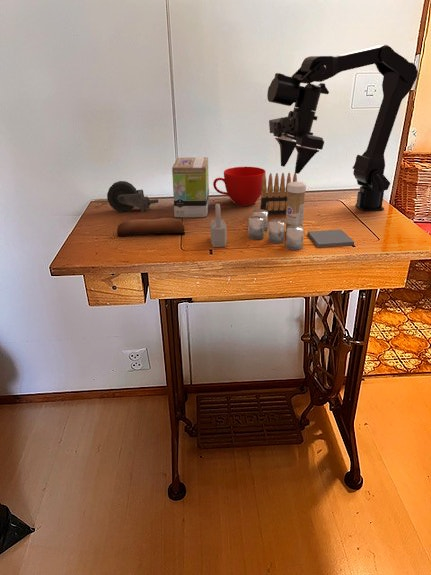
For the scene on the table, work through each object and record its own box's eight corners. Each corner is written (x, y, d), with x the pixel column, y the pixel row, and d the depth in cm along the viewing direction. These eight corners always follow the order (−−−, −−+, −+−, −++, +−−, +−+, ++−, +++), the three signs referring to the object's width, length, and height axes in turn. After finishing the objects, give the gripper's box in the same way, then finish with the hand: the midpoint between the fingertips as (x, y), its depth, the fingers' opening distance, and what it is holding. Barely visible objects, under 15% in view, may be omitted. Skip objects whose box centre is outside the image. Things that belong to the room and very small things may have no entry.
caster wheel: (110, 217, 137) (158, 210, 136) (102, 186, 132) (152, 179, 132) (113, 211, 142) (160, 205, 141) (106, 181, 137) (154, 174, 137)
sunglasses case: (185, 224, 126) (184, 208, 120) (186, 243, 122) (184, 228, 117) (121, 226, 126) (117, 210, 120) (120, 246, 122) (115, 231, 116)
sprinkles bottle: (281, 235, 116) (283, 183, 110) (291, 230, 119) (293, 180, 113) (296, 238, 114) (300, 186, 108) (306, 233, 117) (309, 182, 111)
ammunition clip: (295, 211, 133) (298, 171, 128) (296, 213, 132) (299, 172, 126) (259, 212, 133) (260, 172, 128) (260, 214, 132) (261, 174, 126)
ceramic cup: (207, 201, 145) (205, 170, 141) (254, 195, 150) (254, 165, 146) (221, 212, 134) (221, 179, 130) (272, 205, 140) (273, 173, 135)
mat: (341, 232, 117) (341, 229, 117) (353, 244, 109) (354, 241, 109) (307, 234, 116) (307, 231, 116) (318, 247, 108) (318, 244, 108)
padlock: (210, 237, 116) (209, 200, 112) (225, 237, 116) (225, 199, 112) (211, 247, 110) (209, 208, 106) (227, 247, 110) (226, 208, 106)
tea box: (208, 217, 131) (206, 166, 124) (173, 218, 131) (170, 167, 124) (209, 202, 144) (208, 155, 137) (178, 203, 144) (175, 156, 138)
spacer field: (286, 225, 123) (287, 207, 120) (304, 250, 107) (305, 230, 105) (244, 228, 122) (244, 210, 120) (255, 253, 106) (256, 233, 104)
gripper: (263, 100, 121) (250, 158, 127) (292, 106, 105) (276, 173, 111) (299, 108, 125) (285, 164, 131) (333, 115, 109) (315, 179, 115)
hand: (289, 169), depth 122 cm, fingers open, 9 cm apart
